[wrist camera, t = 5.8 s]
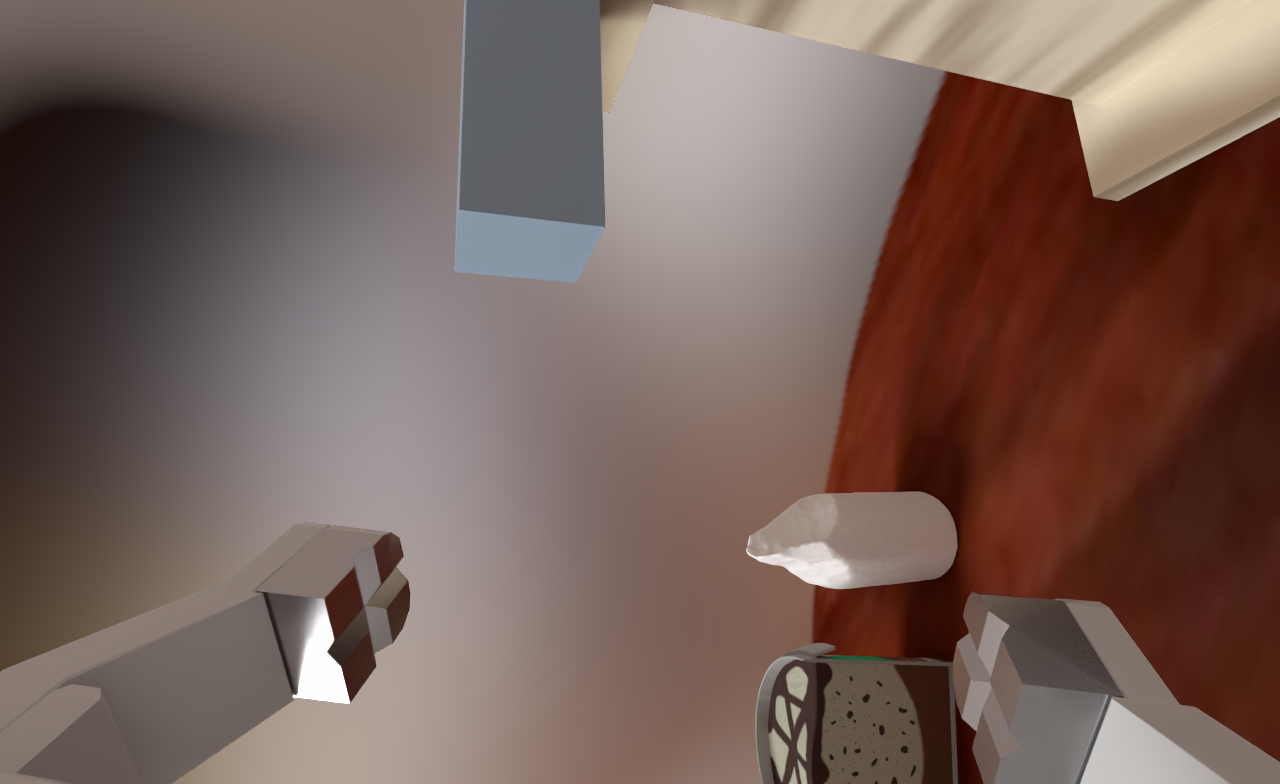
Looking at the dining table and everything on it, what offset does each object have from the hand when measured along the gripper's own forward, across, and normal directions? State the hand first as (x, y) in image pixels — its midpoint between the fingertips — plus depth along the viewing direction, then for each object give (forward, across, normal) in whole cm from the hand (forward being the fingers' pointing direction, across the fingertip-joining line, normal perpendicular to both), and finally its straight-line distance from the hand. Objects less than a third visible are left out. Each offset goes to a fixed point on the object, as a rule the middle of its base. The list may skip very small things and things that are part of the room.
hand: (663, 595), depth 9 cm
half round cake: (+24, +13, -28) cm, 40 cm away
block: (+13, -4, +11) cm, 18 cm away
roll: (+29, +13, -18) cm, 36 cm away
